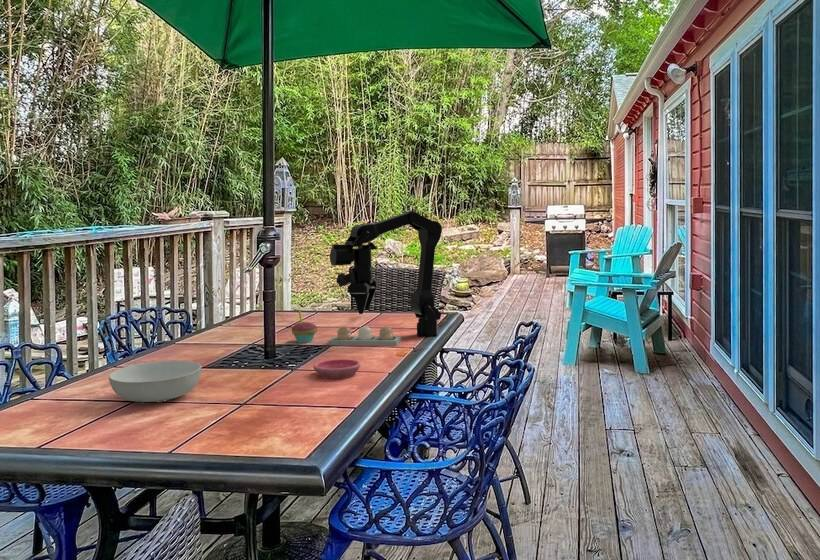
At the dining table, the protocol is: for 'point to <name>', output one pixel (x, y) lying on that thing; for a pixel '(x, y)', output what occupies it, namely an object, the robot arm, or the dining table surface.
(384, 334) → the brown egg
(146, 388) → the serving bowl
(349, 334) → the brown egg
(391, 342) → the egg carton
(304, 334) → the cupcake
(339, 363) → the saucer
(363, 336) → the white egg
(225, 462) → the dining table surface
